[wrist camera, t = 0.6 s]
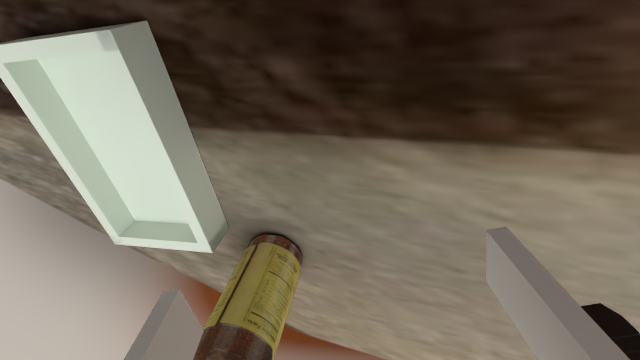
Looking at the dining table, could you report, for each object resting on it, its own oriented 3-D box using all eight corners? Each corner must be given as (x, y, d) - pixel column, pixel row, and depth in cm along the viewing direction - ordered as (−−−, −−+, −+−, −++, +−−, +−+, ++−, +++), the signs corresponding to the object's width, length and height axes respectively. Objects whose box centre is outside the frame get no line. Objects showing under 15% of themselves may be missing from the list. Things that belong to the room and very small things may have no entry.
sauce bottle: (265, 272, 36) (154, 513, 21) (240, 233, 33) (88, 479, 18) (316, 269, 34) (235, 540, 18) (294, 226, 31) (175, 506, 15)
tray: (26, 37, 26) (-21, 47, 23) (146, 20, 22) (109, 29, 20) (137, 222, 37) (115, 244, 34) (229, 228, 33) (212, 252, 31)
